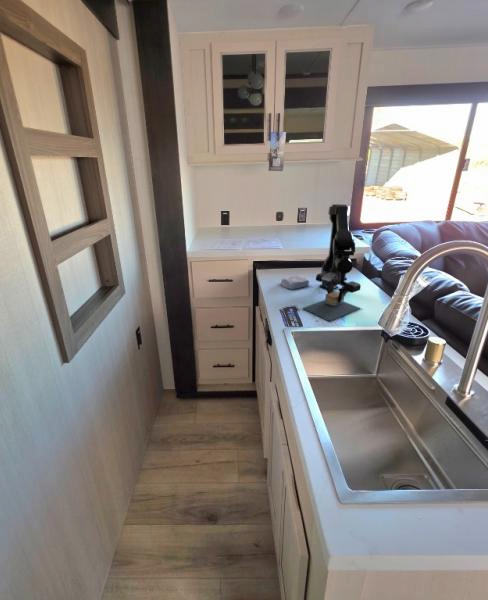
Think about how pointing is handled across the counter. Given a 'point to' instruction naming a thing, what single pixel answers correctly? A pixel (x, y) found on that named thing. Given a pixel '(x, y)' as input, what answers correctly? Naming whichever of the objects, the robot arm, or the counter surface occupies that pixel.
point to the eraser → (333, 298)
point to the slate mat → (331, 310)
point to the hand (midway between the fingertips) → (334, 300)
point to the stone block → (295, 282)
